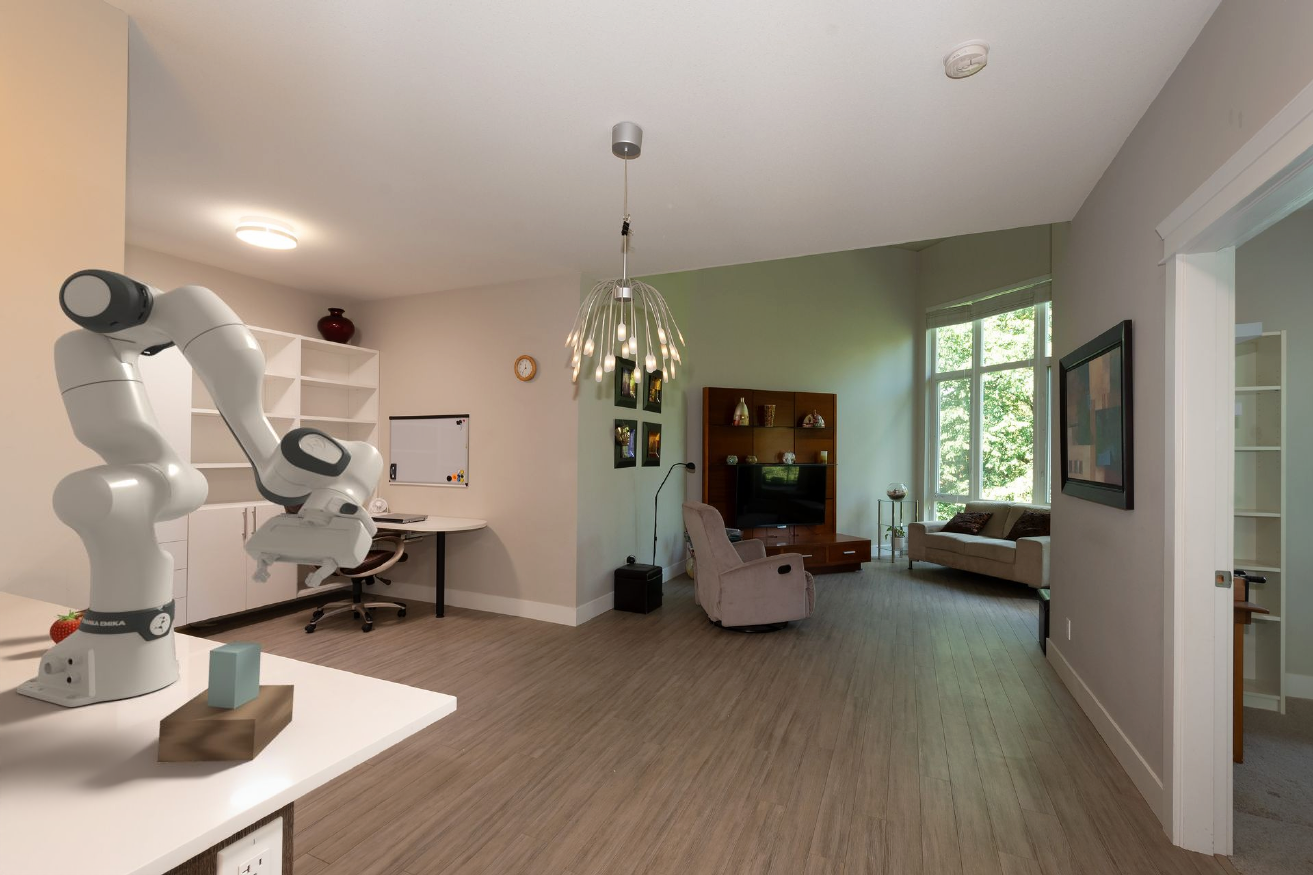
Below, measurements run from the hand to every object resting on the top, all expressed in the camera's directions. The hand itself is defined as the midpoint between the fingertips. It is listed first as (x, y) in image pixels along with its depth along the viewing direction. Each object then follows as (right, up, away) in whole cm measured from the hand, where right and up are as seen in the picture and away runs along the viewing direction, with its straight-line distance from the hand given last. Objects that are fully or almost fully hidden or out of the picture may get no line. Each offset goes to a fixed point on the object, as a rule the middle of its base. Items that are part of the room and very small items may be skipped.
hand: (284, 583), depth 98 cm
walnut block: (-2, -21, -9) cm, 23 cm away
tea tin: (-2, -15, -9) cm, 18 cm away
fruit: (-58, -19, +23) cm, 65 cm away
